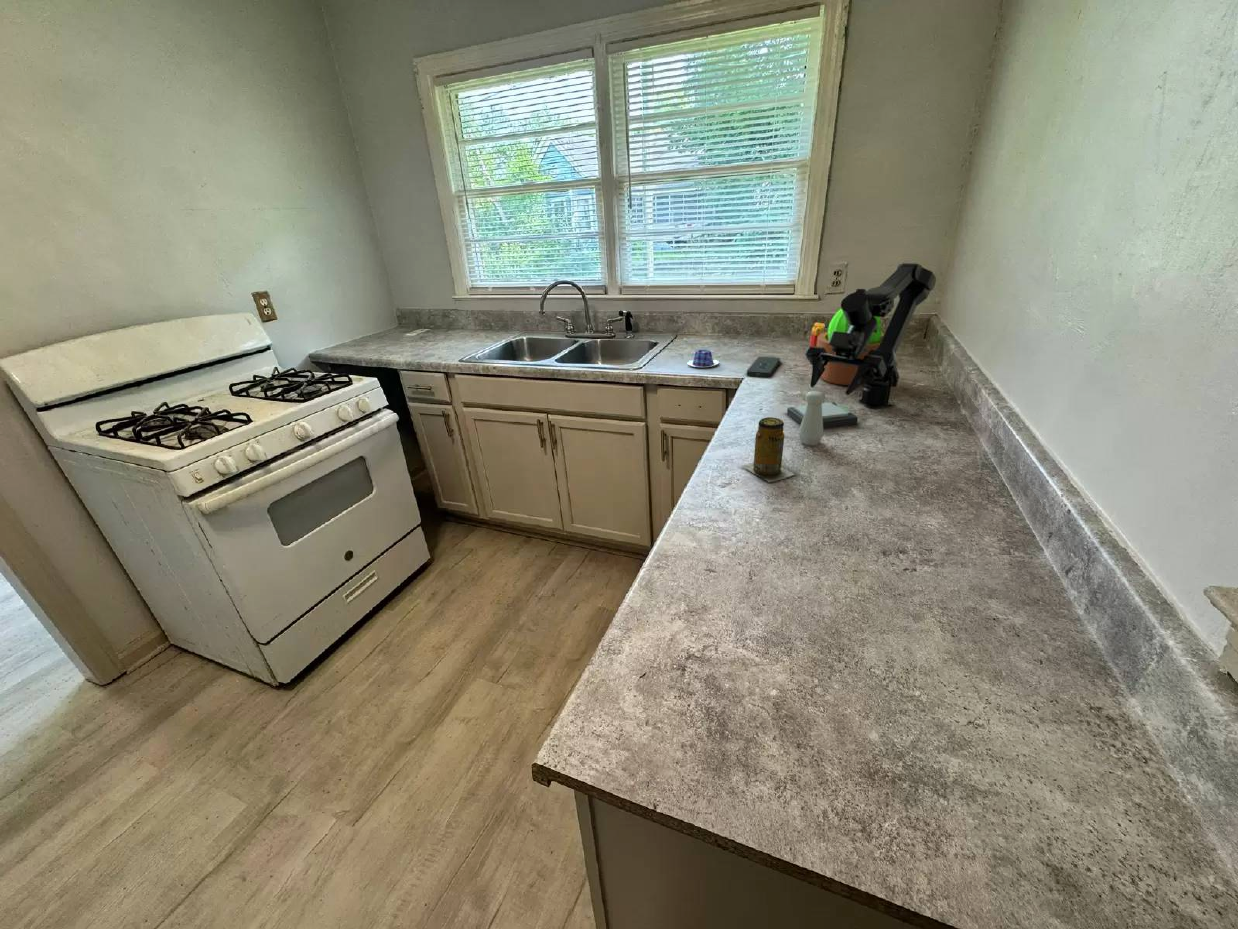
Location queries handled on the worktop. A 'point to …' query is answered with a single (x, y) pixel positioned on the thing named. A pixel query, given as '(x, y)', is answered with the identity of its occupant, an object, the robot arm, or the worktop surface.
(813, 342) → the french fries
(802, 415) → the kitchen scale
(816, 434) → the salt shaker
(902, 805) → the worktop surface
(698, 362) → the pudding
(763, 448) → the condiment
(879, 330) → the potted cactus
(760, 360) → the smart home device
